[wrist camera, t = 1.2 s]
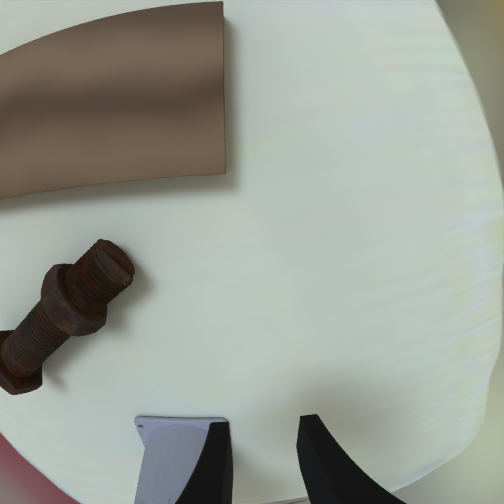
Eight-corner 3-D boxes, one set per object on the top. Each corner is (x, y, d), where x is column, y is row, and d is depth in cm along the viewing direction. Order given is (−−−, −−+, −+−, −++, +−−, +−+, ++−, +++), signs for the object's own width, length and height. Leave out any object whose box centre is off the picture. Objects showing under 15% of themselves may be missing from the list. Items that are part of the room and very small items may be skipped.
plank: (225, 171, 18) (225, 174, 16) (-79, 216, 16) (-93, 222, 14) (223, 15, 15) (223, 0, 13) (-83, 116, 13) (-97, 116, 11)
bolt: (142, 249, 21) (35, 348, 22) (89, 205, 17) (-10, 325, 18) (156, 313, 17) (35, 406, 18) (86, 270, 13) (-17, 385, 14)
